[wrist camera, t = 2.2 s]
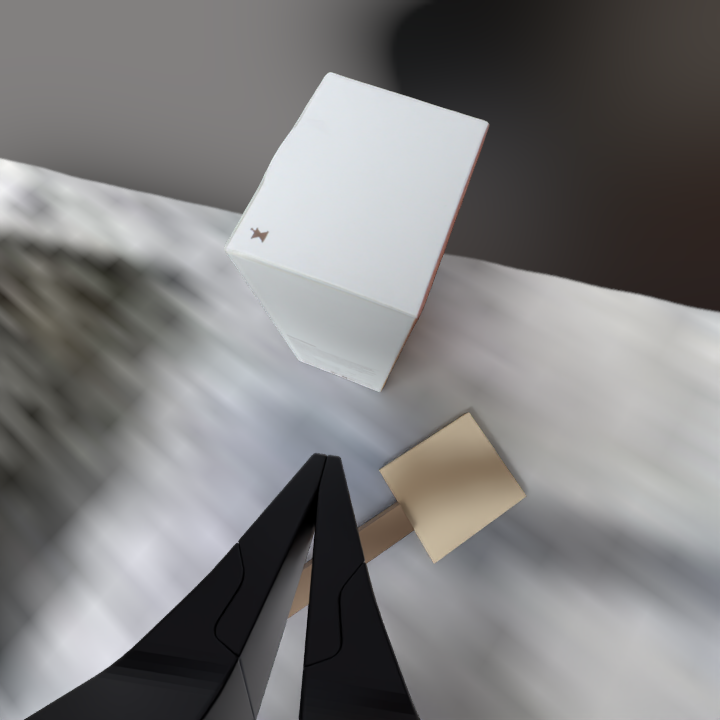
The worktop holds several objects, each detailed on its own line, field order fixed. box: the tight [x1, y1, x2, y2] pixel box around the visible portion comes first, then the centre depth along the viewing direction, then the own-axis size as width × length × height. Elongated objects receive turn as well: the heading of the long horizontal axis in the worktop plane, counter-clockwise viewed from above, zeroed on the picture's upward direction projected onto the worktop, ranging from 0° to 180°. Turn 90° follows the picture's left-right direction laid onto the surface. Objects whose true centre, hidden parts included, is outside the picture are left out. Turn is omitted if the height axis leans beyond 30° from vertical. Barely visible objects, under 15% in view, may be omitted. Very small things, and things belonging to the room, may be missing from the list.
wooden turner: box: [288, 413, 526, 618], centre depth 18 cm, size 6×16×1 cm, turn 121°
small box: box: [225, 72, 489, 392], centre depth 16 cm, size 8×6×13 cm
